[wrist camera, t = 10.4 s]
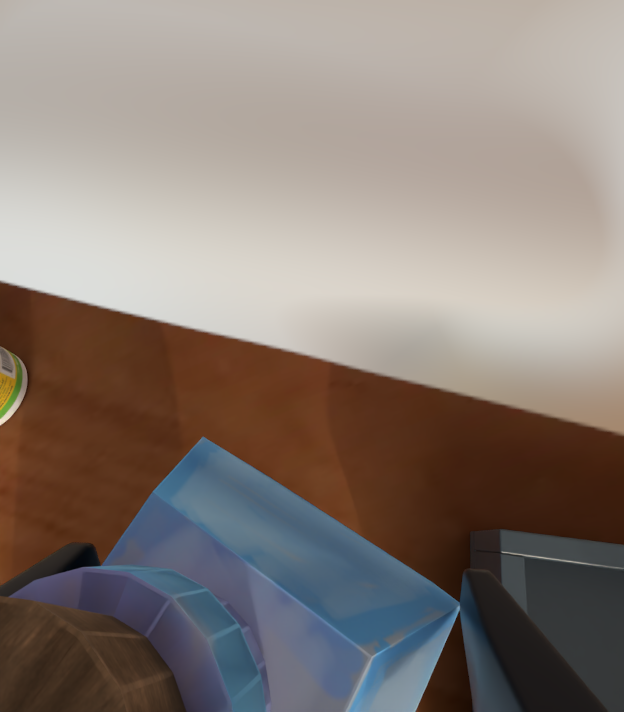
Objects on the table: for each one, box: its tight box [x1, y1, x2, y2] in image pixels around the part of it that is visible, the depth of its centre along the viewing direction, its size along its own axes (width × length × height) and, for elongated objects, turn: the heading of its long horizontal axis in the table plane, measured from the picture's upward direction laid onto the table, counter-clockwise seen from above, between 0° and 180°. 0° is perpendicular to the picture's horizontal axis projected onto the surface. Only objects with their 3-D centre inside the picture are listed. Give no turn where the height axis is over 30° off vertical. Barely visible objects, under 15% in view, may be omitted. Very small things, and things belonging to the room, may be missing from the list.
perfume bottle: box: [0, 437, 460, 712], centre depth 8 cm, size 6×6×12 cm
